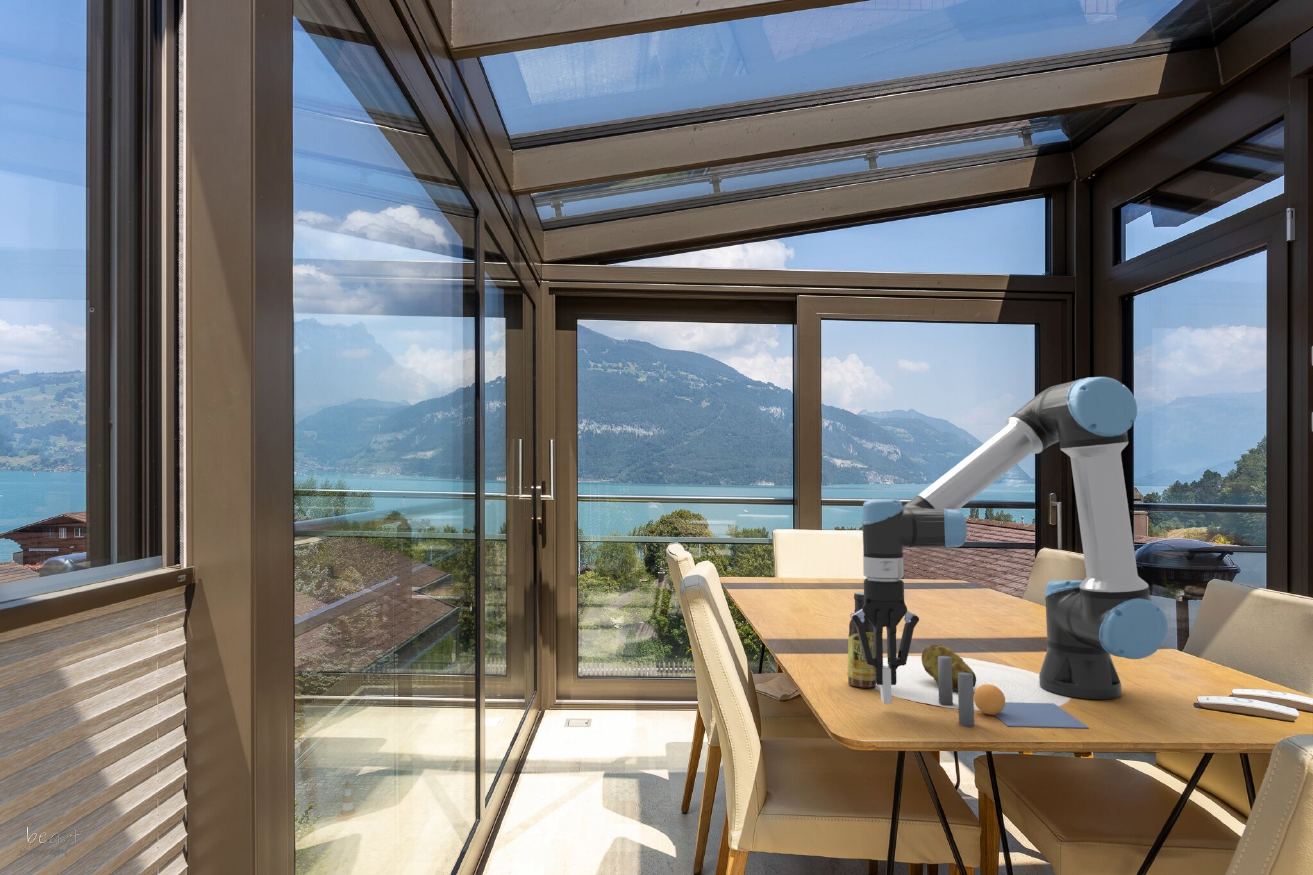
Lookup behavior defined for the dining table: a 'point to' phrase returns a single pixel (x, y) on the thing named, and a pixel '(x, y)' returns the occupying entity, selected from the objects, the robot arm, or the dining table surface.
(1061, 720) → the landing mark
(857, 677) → the sauce bottle
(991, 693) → the ball
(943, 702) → the post
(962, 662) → the potato
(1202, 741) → the dining table surface
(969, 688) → the post
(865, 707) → the dining table surface
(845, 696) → the dining table surface
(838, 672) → the dining table surface
